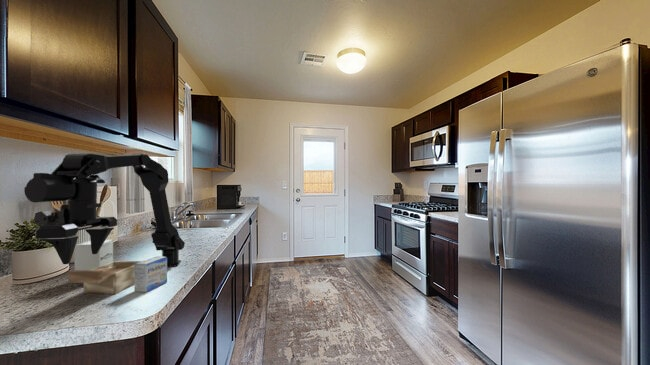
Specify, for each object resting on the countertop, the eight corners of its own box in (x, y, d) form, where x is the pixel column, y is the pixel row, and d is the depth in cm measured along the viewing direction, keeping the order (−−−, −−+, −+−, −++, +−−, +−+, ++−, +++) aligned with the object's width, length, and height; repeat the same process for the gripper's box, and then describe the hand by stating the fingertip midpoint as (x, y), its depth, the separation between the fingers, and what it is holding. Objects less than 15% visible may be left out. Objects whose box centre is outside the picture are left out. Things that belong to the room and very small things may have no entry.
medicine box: (146, 292, 75) (146, 264, 75) (133, 291, 76) (133, 263, 76) (167, 282, 83) (167, 256, 83) (156, 281, 83) (156, 255, 83)
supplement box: (99, 281, 83) (99, 244, 83) (73, 283, 82) (73, 245, 82) (114, 273, 90) (114, 239, 90) (90, 275, 89) (90, 239, 89)
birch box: (115, 279, 85) (115, 261, 85) (144, 279, 85) (144, 261, 85) (83, 293, 74) (83, 272, 74) (116, 293, 74) (116, 273, 74)
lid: (100, 270, 79) (100, 260, 79) (127, 270, 79) (127, 260, 79) (68, 282, 69) (68, 271, 69) (98, 283, 69) (98, 272, 69)
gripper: (77, 198, 75) (76, 250, 74) (8, 202, 56) (6, 272, 56) (118, 198, 76) (118, 249, 76) (64, 202, 58) (63, 269, 57)
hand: (81, 258), depth 66 cm, fingers open, 9 cm apart
